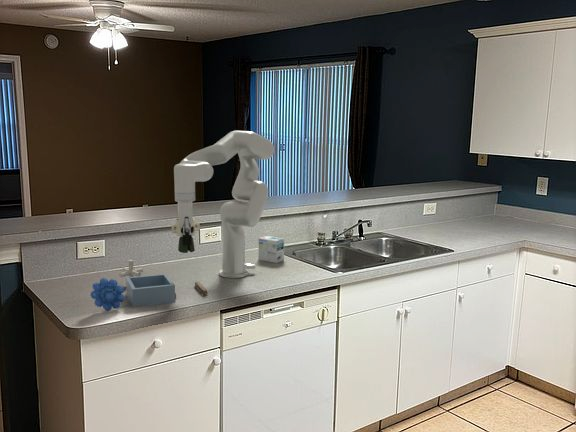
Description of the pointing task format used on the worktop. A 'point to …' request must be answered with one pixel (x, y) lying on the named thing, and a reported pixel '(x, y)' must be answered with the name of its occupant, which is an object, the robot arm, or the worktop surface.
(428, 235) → the worktop surface
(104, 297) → the blue flower
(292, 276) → the worktop surface
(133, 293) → the bin
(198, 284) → the seat rails
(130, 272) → the pipe connector
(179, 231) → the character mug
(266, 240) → the light bulb box
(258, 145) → the robot arm
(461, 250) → the worktop surface
